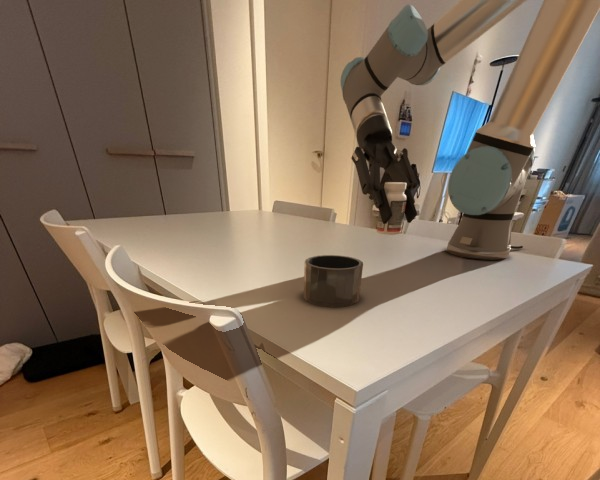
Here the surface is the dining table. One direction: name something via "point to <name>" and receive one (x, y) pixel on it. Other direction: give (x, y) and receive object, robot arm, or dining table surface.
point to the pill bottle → (393, 208)
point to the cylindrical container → (332, 280)
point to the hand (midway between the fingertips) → (400, 218)
